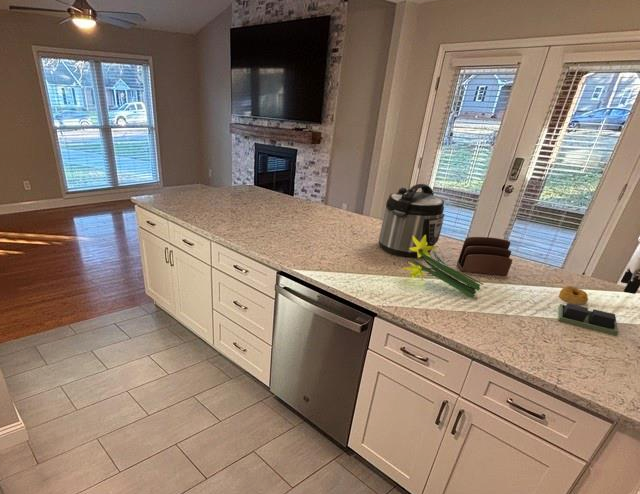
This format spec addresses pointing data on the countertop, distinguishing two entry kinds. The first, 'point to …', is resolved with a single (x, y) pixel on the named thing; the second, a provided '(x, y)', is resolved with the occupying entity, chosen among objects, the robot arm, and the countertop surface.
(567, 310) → the seated pad
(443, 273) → the daffodil flowers
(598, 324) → the loose pad
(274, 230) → the countertop surface
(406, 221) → the pressure cooker
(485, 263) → the letter holder
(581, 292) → the bagel
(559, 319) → the tray
